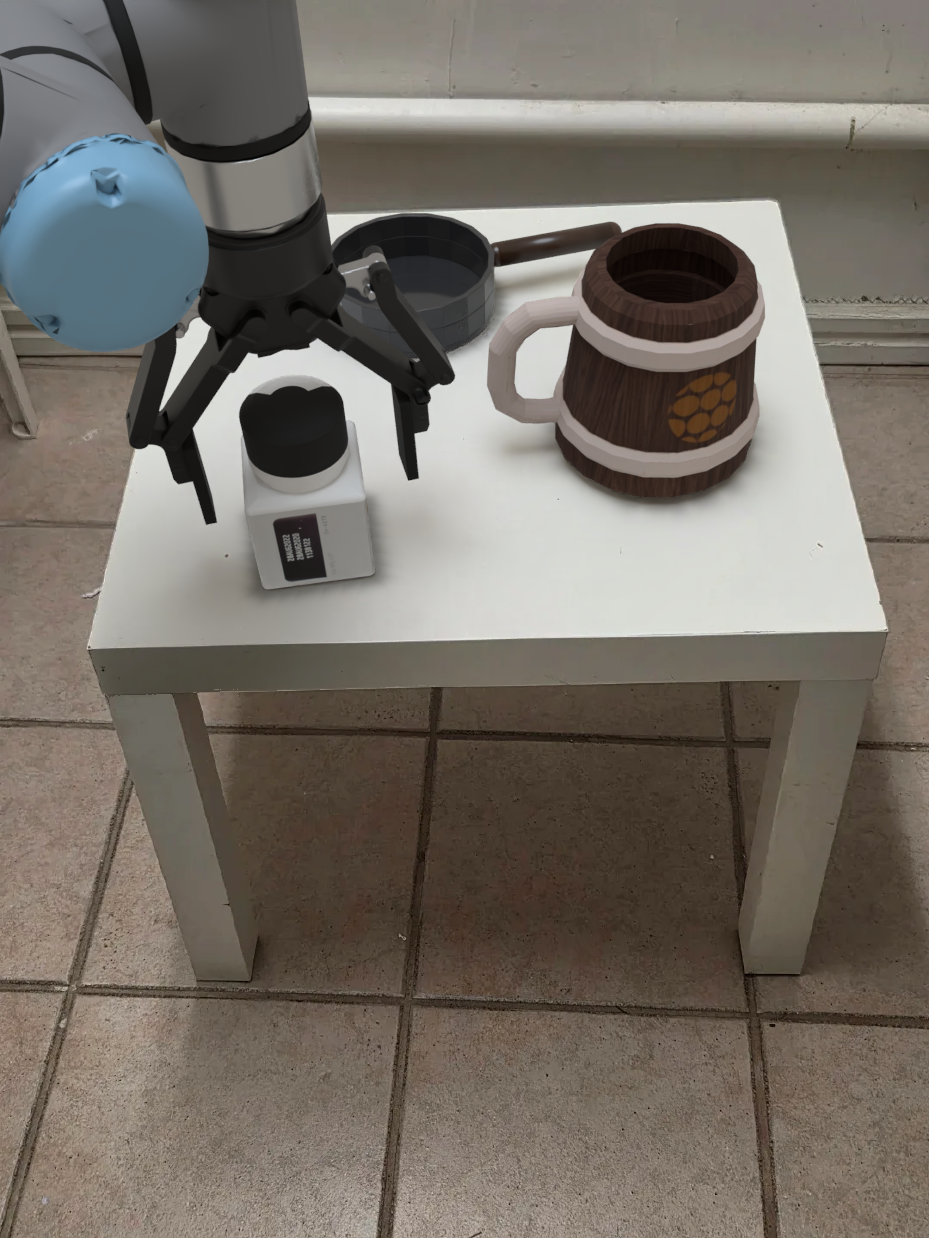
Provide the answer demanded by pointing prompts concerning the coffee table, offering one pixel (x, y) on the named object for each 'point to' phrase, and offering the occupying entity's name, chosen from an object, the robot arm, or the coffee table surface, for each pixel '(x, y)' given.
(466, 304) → the pan
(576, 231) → the pan handle
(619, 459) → the mug
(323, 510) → the container
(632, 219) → the coffee table surface
